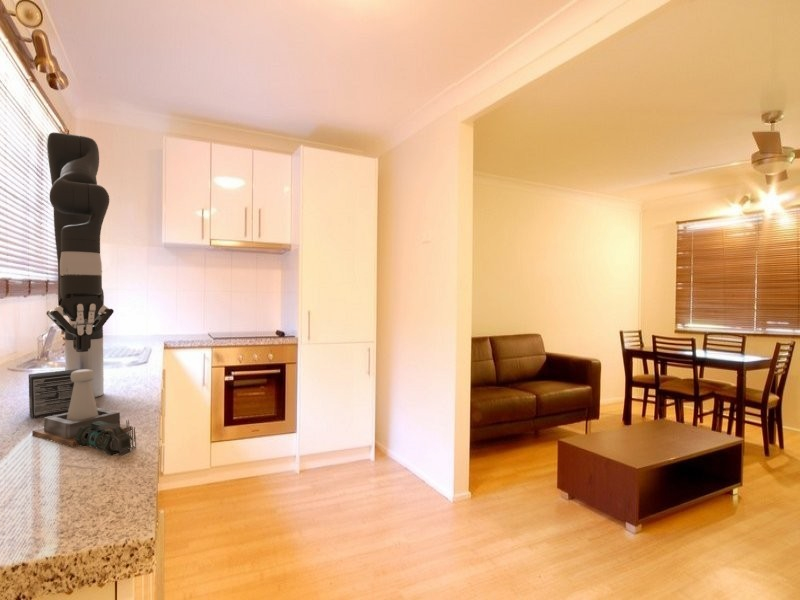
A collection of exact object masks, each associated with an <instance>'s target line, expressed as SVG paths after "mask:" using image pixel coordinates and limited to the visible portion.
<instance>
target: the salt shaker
mask: <svg viewBox="0 0 800 600" xmlns="http://www.w3.org/2000/svg"><path fill="white" fill-rule="evenodd" d="M93 379H94V372H93V371H92V370H89V369H82V370H76V371H73V372H72V373H71V381H72V382H74V387H73V392H72V397H71V402H70V406H69V410H68V415H67V420H70V421H78V420H82V419H86V418H91V417H95V416H99V415H98V411H97V408H98V406H97V402H96V397H94V392H93V387H92V383H91V380H93Z"/></svg>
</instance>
